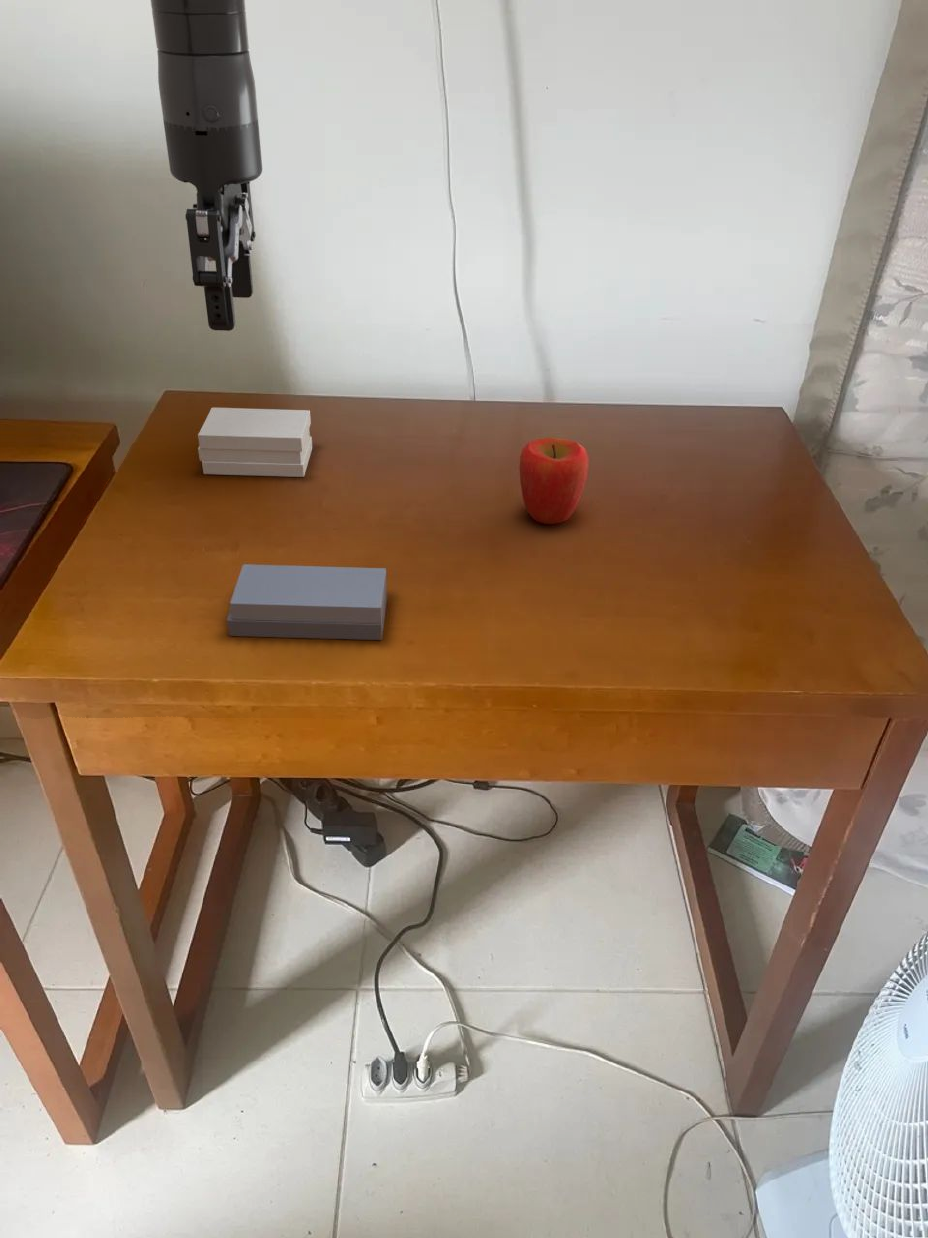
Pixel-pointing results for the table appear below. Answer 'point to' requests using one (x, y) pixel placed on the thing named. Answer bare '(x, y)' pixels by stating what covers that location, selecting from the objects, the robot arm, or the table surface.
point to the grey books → (309, 602)
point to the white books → (256, 461)
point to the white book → (255, 429)
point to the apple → (552, 478)
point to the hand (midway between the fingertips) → (232, 312)
